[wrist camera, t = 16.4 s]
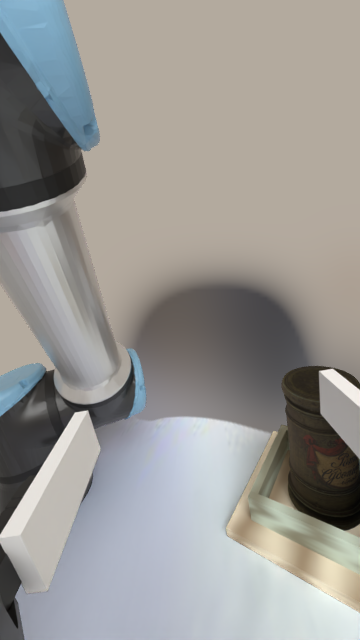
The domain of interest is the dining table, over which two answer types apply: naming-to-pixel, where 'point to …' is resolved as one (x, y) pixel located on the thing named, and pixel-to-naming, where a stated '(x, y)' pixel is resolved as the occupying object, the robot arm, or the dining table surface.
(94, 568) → the dining table surface
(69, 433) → the robot arm
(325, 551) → the collar board
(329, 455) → the container
